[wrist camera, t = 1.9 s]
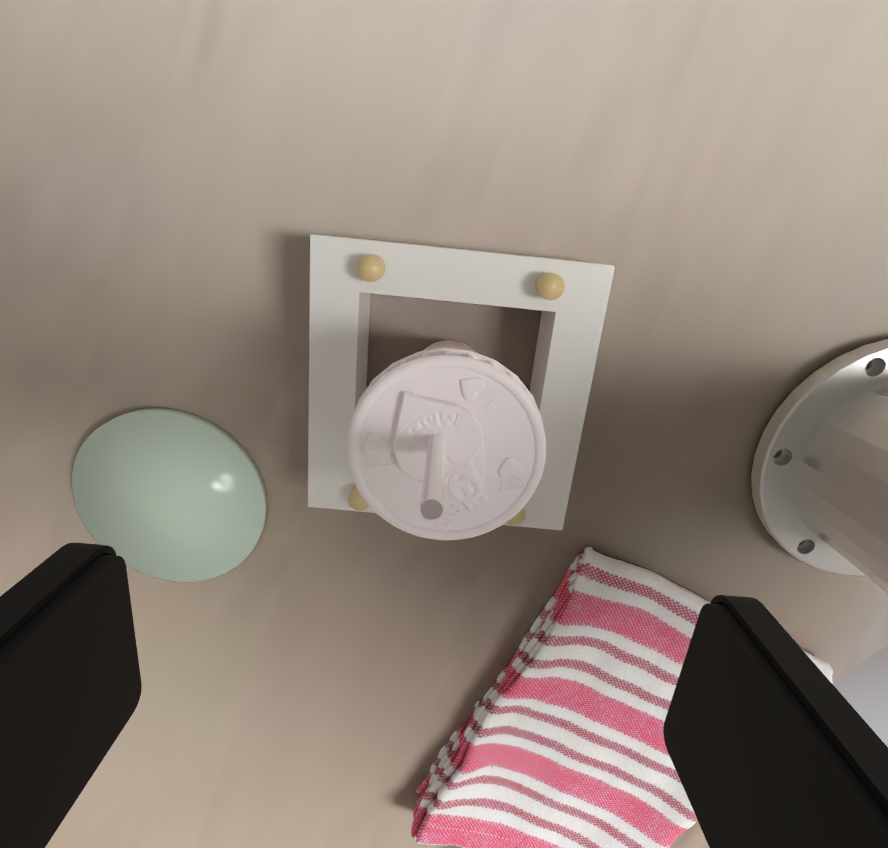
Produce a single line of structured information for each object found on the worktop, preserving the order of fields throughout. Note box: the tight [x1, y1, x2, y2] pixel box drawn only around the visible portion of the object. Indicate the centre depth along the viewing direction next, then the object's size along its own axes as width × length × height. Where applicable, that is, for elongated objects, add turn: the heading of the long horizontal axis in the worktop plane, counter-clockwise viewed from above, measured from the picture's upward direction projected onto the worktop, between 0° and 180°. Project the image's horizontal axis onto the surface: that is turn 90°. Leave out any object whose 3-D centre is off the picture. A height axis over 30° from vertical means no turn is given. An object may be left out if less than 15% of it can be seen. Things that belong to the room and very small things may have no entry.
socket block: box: [308, 234, 615, 531], centre depth 23 cm, size 12×12×4 cm
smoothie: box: [347, 340, 547, 540], centre depth 19 cm, size 6×6×14 cm
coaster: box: [72, 408, 268, 582], centre depth 27 cm, size 10×10×1 cm
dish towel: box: [411, 547, 833, 848], centre depth 32 cm, size 17×23×4 cm
